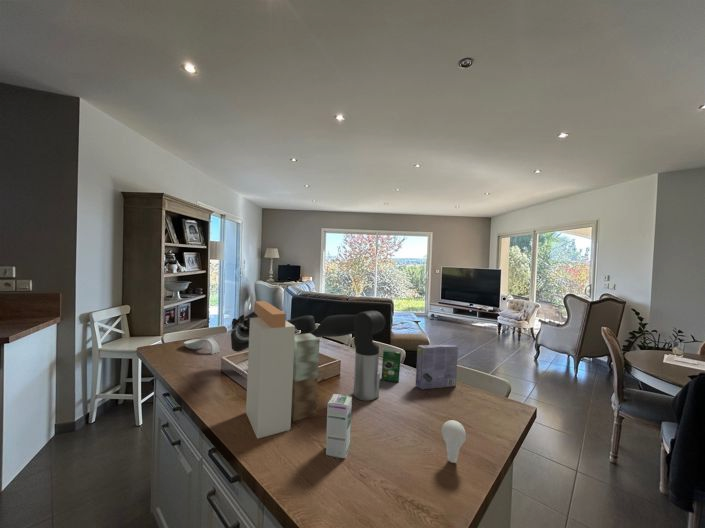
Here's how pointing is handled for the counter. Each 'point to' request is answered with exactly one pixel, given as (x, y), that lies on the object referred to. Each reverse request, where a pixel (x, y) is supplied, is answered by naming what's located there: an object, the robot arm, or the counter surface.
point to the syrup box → (338, 425)
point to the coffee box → (391, 365)
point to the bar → (270, 314)
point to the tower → (305, 376)
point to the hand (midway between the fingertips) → (254, 316)
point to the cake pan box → (436, 366)
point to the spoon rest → (202, 344)
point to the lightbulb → (453, 438)
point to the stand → (270, 377)
